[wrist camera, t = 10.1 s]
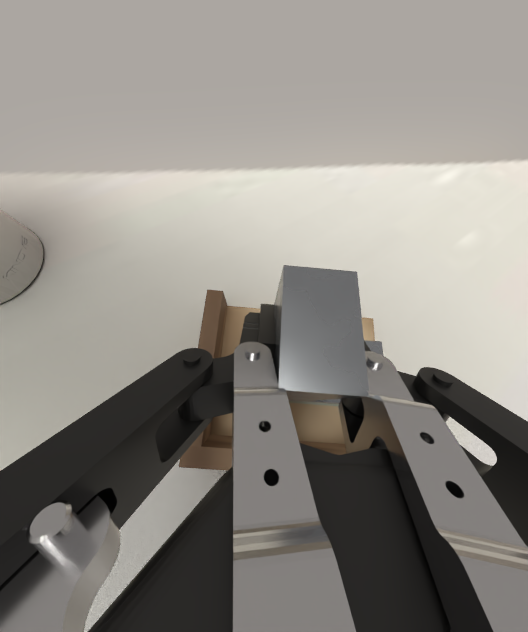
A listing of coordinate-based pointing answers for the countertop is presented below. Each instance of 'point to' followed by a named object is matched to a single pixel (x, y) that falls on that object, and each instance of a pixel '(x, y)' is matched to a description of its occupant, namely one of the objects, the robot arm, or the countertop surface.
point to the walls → (212, 447)
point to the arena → (308, 416)
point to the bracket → (320, 336)
